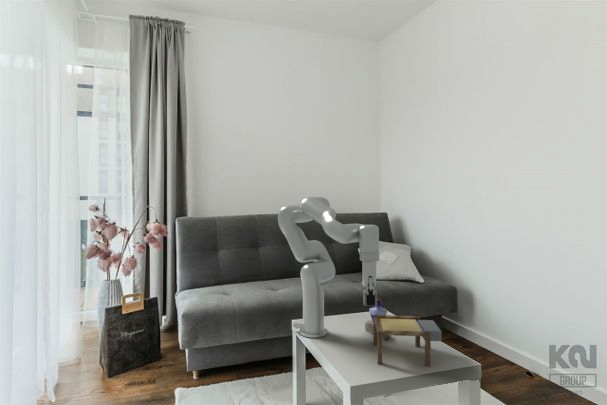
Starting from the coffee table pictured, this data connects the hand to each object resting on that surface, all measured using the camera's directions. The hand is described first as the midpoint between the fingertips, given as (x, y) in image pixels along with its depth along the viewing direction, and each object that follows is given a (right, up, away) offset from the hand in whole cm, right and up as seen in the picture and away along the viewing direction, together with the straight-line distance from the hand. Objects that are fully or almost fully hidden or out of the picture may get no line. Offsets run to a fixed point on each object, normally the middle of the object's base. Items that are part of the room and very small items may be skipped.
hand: (370, 302), depth 142 cm
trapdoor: (+15, -12, -2) cm, 19 cm away
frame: (+11, -20, -1) cm, 23 cm away
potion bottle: (+10, -19, +32) cm, 39 cm away
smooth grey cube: (0, -1, 0) cm, 1 cm away
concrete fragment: (+6, -20, +20) cm, 29 cm away
